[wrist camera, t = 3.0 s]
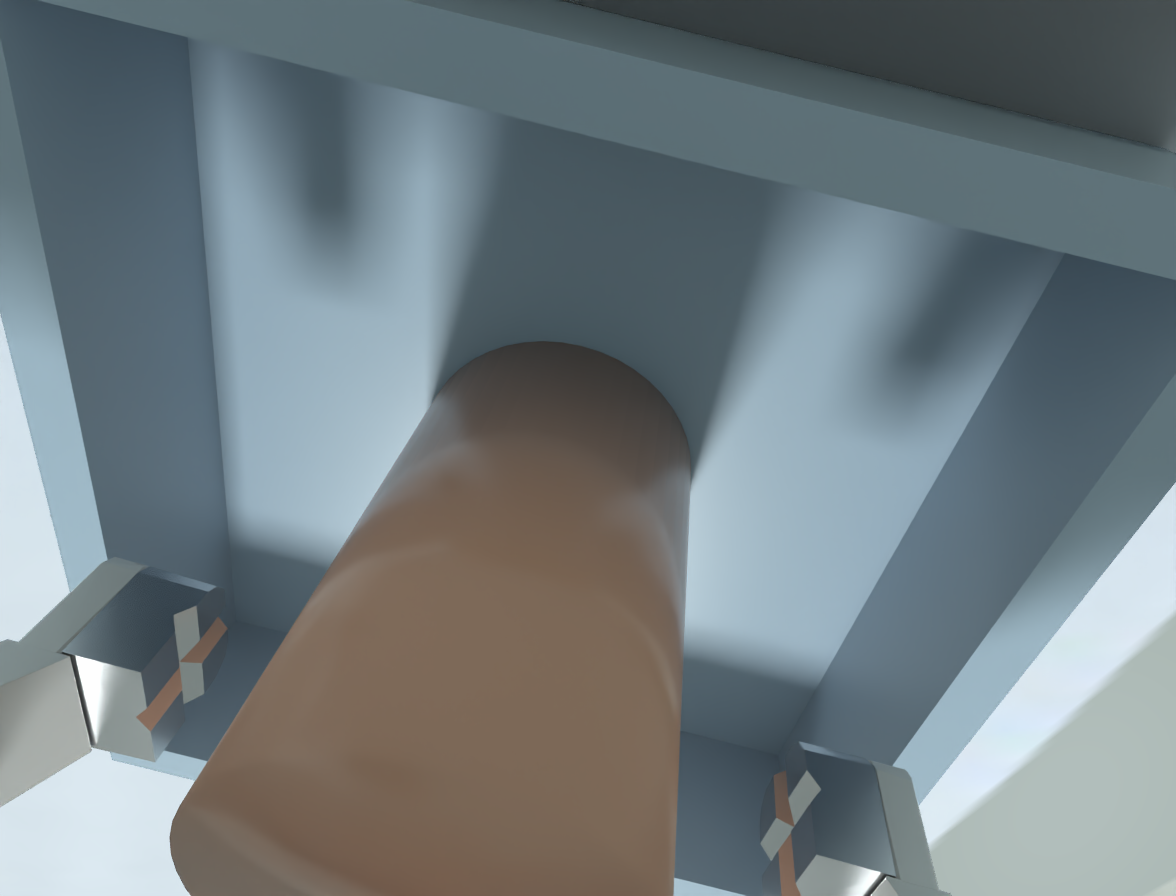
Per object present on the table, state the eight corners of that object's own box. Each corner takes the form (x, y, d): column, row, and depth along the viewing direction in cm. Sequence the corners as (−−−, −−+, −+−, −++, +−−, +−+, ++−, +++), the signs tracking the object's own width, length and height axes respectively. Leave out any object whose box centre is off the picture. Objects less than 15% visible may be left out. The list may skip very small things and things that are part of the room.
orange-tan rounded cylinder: (370, 418, 14) (69, 828, 8) (594, 288, 12) (452, 687, 6) (526, 598, 16) (395, 1048, 10) (740, 510, 14) (764, 1001, 8)
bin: (218, 616, 19) (112, 759, 15) (146, -102, 11) (-110, -126, 7) (797, 760, 19) (815, 935, 15) (1164, 148, 11) (1369, 236, 7)
